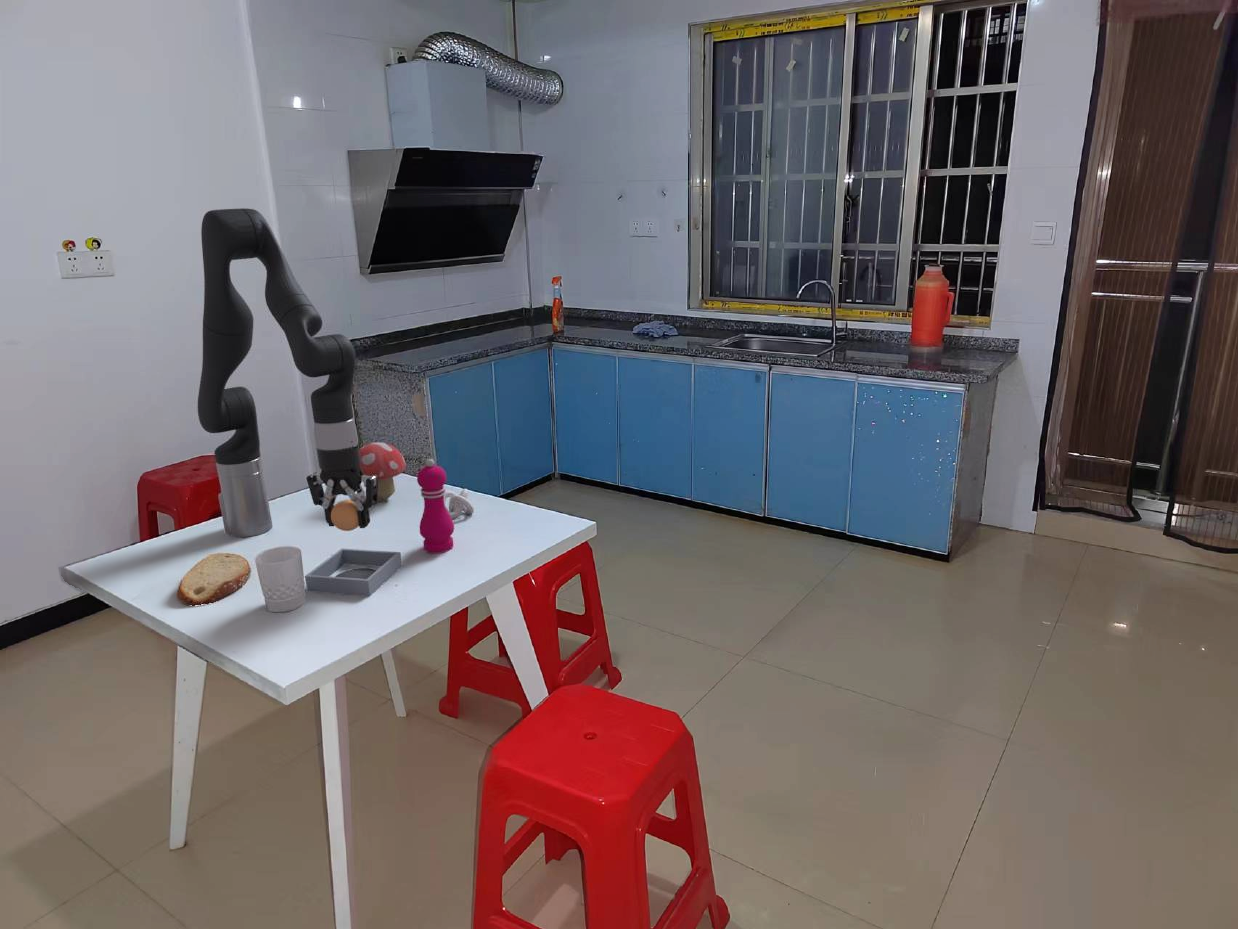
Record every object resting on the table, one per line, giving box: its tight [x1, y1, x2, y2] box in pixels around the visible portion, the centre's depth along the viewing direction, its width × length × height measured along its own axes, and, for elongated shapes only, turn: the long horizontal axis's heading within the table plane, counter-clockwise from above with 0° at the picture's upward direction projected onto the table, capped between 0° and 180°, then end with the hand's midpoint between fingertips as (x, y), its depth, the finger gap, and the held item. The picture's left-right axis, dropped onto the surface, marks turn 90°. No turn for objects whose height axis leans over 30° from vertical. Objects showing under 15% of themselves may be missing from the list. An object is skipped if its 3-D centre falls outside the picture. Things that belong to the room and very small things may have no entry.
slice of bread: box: [176, 552, 252, 606], centre depth 156 cm, size 18×18×4 cm
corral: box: [304, 547, 403, 597], centre depth 156 cm, size 13×13×3 cm
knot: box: [444, 488, 474, 520], centre depth 188 cm, size 8×8×6 cm
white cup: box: [254, 545, 306, 613], centre depth 145 cm, size 8×8×10 cm
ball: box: [331, 499, 359, 532], centre depth 152 cm, size 6×6×6 cm
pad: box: [334, 567, 378, 579], centre depth 156 cm, size 9×9×1 cm
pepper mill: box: [416, 458, 455, 554], centre depth 167 cm, size 7×7×20 cm
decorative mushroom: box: [359, 442, 407, 502], centre depth 197 cm, size 13×13×15 cm
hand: (348, 525), depth 153 cm, fingers closed on ball, 6 cm apart
